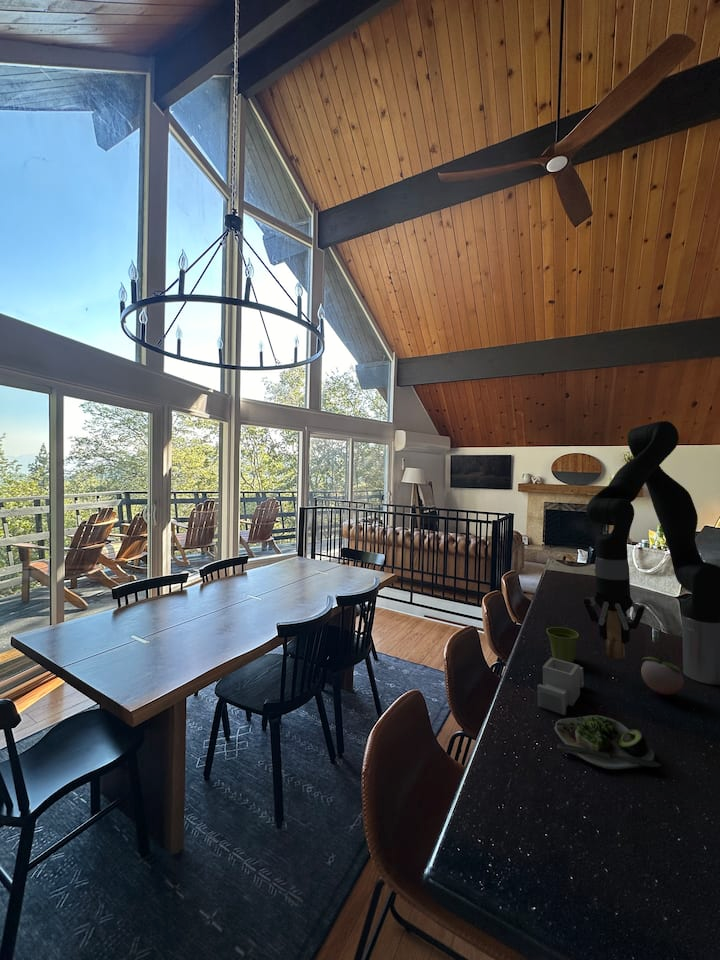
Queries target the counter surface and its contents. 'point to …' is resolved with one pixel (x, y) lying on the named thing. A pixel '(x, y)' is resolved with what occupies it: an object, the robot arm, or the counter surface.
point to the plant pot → (562, 643)
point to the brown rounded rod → (614, 635)
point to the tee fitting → (559, 685)
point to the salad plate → (605, 743)
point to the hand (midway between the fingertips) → (614, 640)
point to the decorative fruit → (662, 676)
